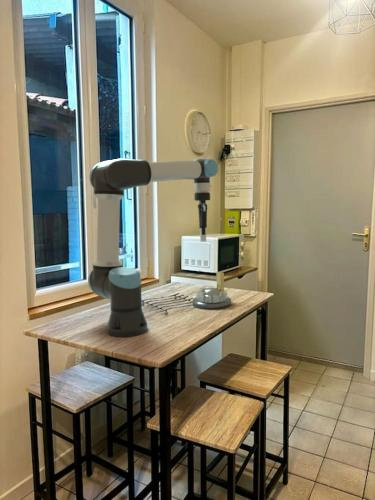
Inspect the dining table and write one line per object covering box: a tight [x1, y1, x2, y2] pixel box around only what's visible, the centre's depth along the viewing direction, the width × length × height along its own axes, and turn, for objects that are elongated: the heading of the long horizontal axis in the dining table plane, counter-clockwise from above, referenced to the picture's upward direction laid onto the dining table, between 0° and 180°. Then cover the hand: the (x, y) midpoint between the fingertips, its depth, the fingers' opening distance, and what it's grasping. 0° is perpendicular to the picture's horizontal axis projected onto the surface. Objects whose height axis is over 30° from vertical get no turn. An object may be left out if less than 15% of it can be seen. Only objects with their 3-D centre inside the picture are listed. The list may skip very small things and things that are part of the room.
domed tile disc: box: [195, 271, 228, 303], centre depth 179 cm, size 14×14×12 cm
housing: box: [192, 287, 232, 310], centre depth 179 cm, size 18×18×7 cm
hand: (203, 241), depth 187 cm, fingers closed
